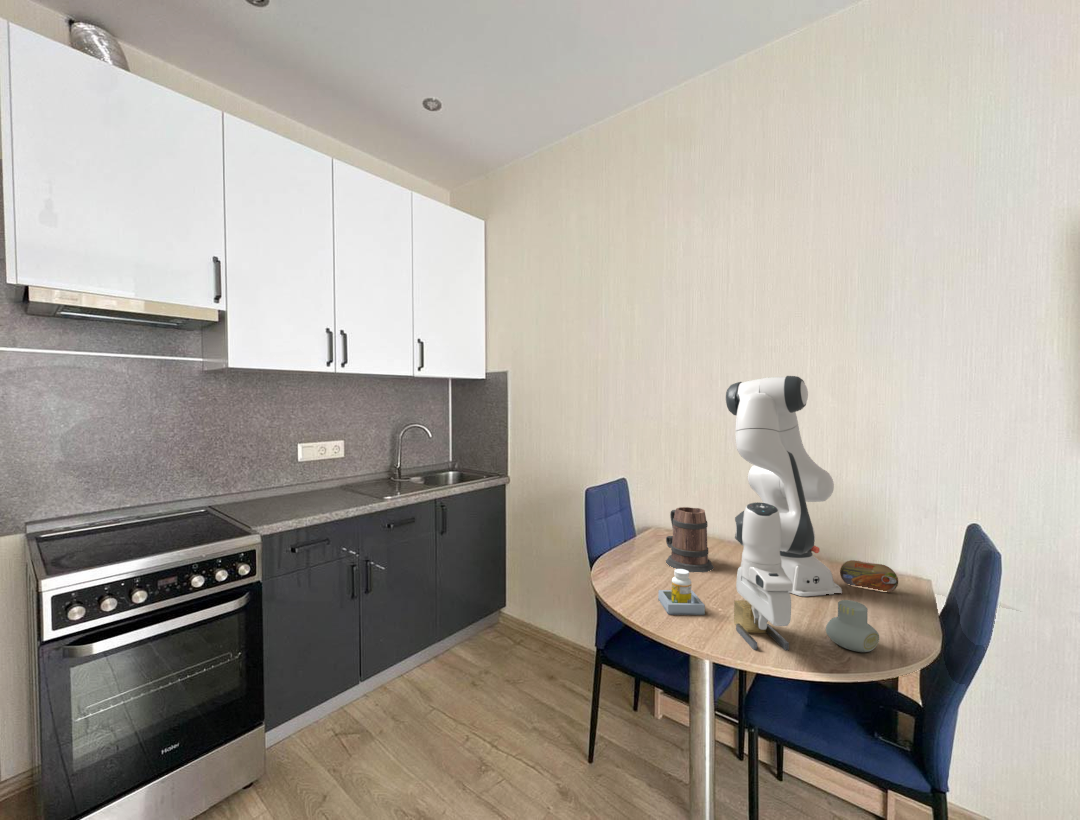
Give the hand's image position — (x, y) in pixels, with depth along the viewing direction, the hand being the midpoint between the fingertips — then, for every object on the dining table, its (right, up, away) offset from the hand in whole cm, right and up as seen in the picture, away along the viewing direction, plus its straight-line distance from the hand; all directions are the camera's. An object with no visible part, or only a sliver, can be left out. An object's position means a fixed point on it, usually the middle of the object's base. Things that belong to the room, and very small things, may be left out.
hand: (760, 626), depth 113 cm
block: (0, -3, +5) cm, 6 cm away
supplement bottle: (-14, -2, +17) cm, 22 cm away
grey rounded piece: (+21, -4, -3) cm, 21 cm away
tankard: (-1, -3, +57) cm, 57 cm away
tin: (+51, -4, +34) cm, 61 cm away
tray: (-14, -3, +17) cm, 23 cm away
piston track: (0, -3, +3) cm, 4 cm away
